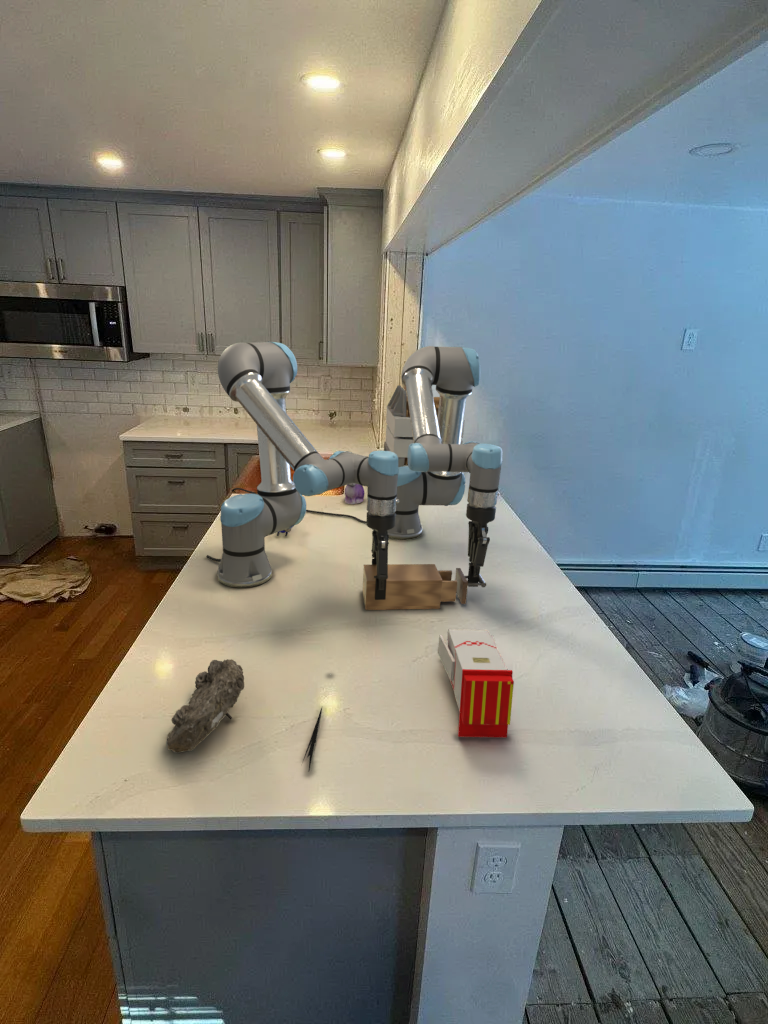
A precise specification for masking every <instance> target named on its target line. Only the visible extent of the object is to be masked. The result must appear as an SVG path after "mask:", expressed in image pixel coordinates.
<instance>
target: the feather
mask: <svg viewBox="0 0 768 1024" xmlns="http://www.w3.org/2000/svg"><path fill="white" fill-rule="evenodd" d="M329 675H330V676H331V675H332V674H331V673H330V674H329ZM322 710H323V707H321V708H320V710H319V713H318V716H317V719H316V723H315V725H314V728H313V731H312V733H311V737H310V739H309V742H308V745H307V748H306V751H305V754H304V757H303V760H302V763H301V767H302V765H303V763H304V761H305V758H308V759H309V760H308V762H307V763H308V764H307V766H308V771H310V770H311V766H312V765H311V764H312V760H313V757H315V756H314V755H315V751H316V749H315V746H317V739H318V733H319V729H320V722H321V717H322V712H323V711H322ZM313 754H314V755H313ZM306 755H307V757H306Z"/></svg>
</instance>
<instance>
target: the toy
mask: <svg viewBox="0 0 768 1024" xmlns="http://www.w3.org/2000/svg"><path fill="white" fill-rule="evenodd" d="M446 640H447V643H446V641H445V639H444V636H443V635H442V634H439V637H438V646H437V656H438V657H439V659H440V661H441V663H442V666H443V668H444V670H445V672H446V674H447V677H448V679H449V681H450V684H451V687H452V690H453V693H454V697H455V701H456V705H457V708H458V711H459V714H458V715H459V716H458V730H457V731H458V732H457V737H458V738H508V731H509V726H510V725H511V717H512V707H513V697H514V696H513V695H514V684H515V680H514V679H513V673H514V671H513V670H512V669H508V667H507V665H506V662H505V661H504V659H503V658H502V655H501V653H500V651H499V649H498V647H497V643H496V639H495V637H494V635H493V634H491V632H490V631H489V629H467V628H466V629H465V628H463V629H461V628H460V629H459V628H448V630H447V639H446Z"/></svg>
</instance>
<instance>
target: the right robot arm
mask: <svg viewBox="0 0 768 1024" xmlns="http://www.w3.org/2000/svg"><path fill="white" fill-rule="evenodd" d="M400 379H401V387H402V388H403V389H404V390H406V393H407V399H408V406H409V413H410V420H411V427H412V434H413V441H414V443H412V444H410V445H409V447H408V455H407V458H408V466H407V465H404V466H403V467H398V469H399V473H398V481H397V499H398V500H399V503H396V511H395V513H396V524H395V527H394V528H393V529H390V530H387V531H388V535H389V540H395V541H410V540H415V539H418V538H420V537H421V536H422V535H423V525H422V524H421V518H420V515H419V507H420V506H444V507H448V506H456V505H458V504H460V503H461V501H462V499H463V497H464V494H465V490H466V485H465V484H466V476H465V474H464V473H469V485H468V491H467V499H466V500H467V504H466V512H465V517H466V518H467V519H468V520H469V521H468V523H467V525H468V538H467V539H468V541H467V557H468V572H467V576H468V578H467V581H468V583H479V574H481V567H482V568H483V567H484V565H485V562H486V561H485V560H486V556H487V552H488V547H489V544H490V541H491V538H490V536H488V534H489V526H488V524H489V523H492V522H493V521H494V520H495V519H496V512H497V507H496V505H497V502H498V497H499V496H500V492H499V487H500V479H501V473H502V465H503V462H504V461H503V448H502V447H500V446H499V445H495V444H493V443H492V444H491V443H480V442H478V441H473V440H470V441H467V442H465V443H462V444H460V443H461V440H462V438H461V435H462V428H463V420H465V411H466V404H467V398H468V397H469V396H470V395H472V393H473V388H476V387H477V386H479V385H480V381H481V362H480V357H479V353H478V352H477V351H476V349H474V348H471V347H464V346H434V345H428V346H423V347H420V348H419V349H416V350H415V351H414V352H413V353H411V355H409V357H408V358H407V359H406V361H405V363H404V364H403V367H402V370H401V377H400ZM432 386H435V391H436V393H437V394H438V395H439V397H440V398H439V407H438V417H437V415H436V409H435V404H434V398H433V397H434V392H433V388H432ZM238 490H239V491H243V492H245V493H247V494H248V493H249V494H250V493H251V494H257V492H255V491H251V490H247V489H246V488H241V487H235V488H233V489H231V492H234V491H238ZM306 513H312V514H318V515H319V514H320V515H328V516H334V517H335V516H336V517H346V518H351V519H354V520H356V521H358V522H360V523H363V524H366V521H367V520H362V519H360V518H358V517H356V516H354V515H349V514H344V513H334V512H333V513H332V512H324V511H318V510H311V509H306ZM468 587H469V588H479V586H468Z"/></svg>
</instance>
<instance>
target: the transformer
mask: <svg viewBox="0 0 768 1024" xmlns="http://www.w3.org/2000/svg"><path fill="white" fill-rule="evenodd" d="M433 398H434V404H435V409H436V415H437V417H438V407H439V398H440V396H433ZM385 414H386V415H385V423H386V428H385V438H384V442H383V451H390V452H393V453H395V454H396V455H397V456H398V467H403V466H408V458H407V455H408V447H409V445H410V444H412V443H414V441H413V434H412V427H411V420H410V413H409V406H408V399H407V392H406V390H405V389H404V388H403V386H402V385H399V384H398V385H397V386H396V388H395V390H394V392H393V394H392V395H391V398H390V400H389V402H388V404H387V405H386V413H385ZM464 429H465V419H464V420H463V428H462V435H461V443H460V444H464V443H463V442H464V441H463V440H462V439H463V438H464V431H465V430H464Z"/></svg>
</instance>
